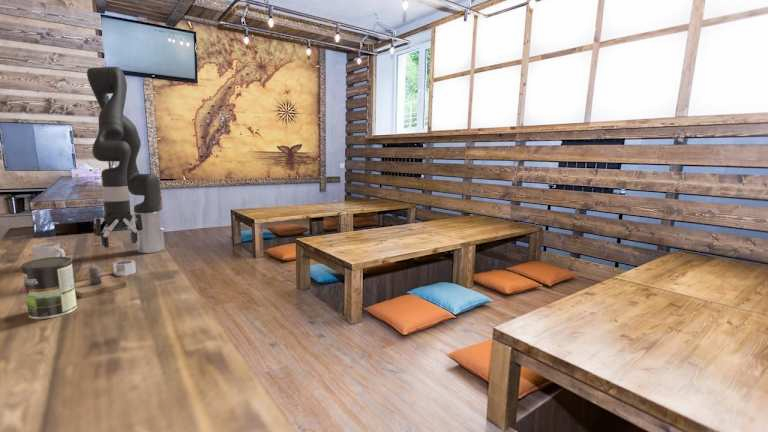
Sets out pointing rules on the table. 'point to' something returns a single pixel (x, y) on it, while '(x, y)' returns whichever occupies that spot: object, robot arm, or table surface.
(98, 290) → the post block
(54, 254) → the cup
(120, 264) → the ring
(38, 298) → the coffee can
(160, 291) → the table surface
